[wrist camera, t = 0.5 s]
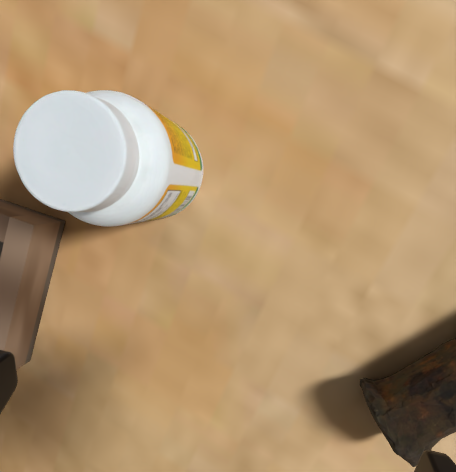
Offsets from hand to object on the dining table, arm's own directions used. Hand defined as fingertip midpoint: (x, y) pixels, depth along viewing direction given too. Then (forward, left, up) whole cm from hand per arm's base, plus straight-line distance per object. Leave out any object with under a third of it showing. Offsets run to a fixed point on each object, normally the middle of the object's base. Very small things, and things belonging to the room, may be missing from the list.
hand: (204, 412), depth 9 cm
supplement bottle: (+4, +7, -14) cm, 17 cm away
